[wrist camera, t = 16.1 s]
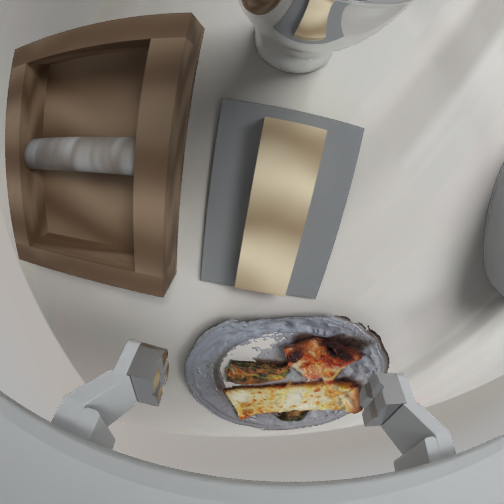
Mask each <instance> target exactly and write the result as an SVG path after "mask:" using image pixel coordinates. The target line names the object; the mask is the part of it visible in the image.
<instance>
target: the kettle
mask: <svg viewBox="0 0 504 504" xmlns="http://www.w3.org/2000/svg"><path fill="white" fill-rule="evenodd" d="M483 253H484V265H485V271H486V274H487V277H488V280H489V282H490V283H491V285H492V286H493V287H494V288H495V289H496V290H497V291H498V292H499V293H500V294H501V295H502V296H503V297H504V163H503V165H502V168H501V170H500V172H499V175H498V178H497V180H496V183H495V186H494V190H493V193H492V196H491V200H490V204H489V209H488V214H487V219H486V225H485V233H484V248H483Z"/></svg>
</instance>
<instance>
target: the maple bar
mask: <svg viewBox="0 0 504 504" xmlns="http://www.w3.org/2000/svg"><path fill="white" fill-rule="evenodd" d="M326 134H327V130H325V129H321V128H317V127H313V126H309V125H304V124H300V123H295V122H291V121H286V120H281V119H276V118H271V117H265V119H264V124H263V129H262V135H261V140H260V145H259V151H258V156H257V162H256V167H255V173H254V178H253V184H252V189H251V195H250V201H249V206H248V212H247V218H246V223H245V229H244V235H243V241H242V246H241V252H240V258H239V264H238V270H237V276H236V281H235V287H234V288H238V289H244V290H250V291H256V292H262V293H268V294H274V295H280V296H285V294H286V291H287V288H288V284H289V281H290V277H291V274H292V270H293V267H294V263H295V259H296V256H297V252H298V249H299V245H300V241H301V237H302V234H303V230H304V226H305V222H306V218H307V214H308V211H309V207H310V203H311V199H312V195H313V191H314V186H315V182H316V178H317V174H318V170H319V165H320V161H321V157H322V152H323V148H324V144H325V139H326Z"/></svg>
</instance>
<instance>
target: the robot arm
mask: <svg viewBox="0 0 504 504" xmlns="http://www.w3.org/2000/svg"><path fill="white" fill-rule="evenodd" d="M167 356H168V351H167V349H164V348H160V347H156V346H153V345H149V344H146V343H142V342H138V341H135V340H131V339H130V340H128V341H127V343H126V345H125V347H124V349H123V351H122V353H121V355H120V357H119V359H118V361H117V363H116V365H115V367H114V369H113V371H112V370H108V371H106V372H104V373H103V374H101V375H99V376H98V377H96V378H94V379H93V380H91V381H89V382H87V383H86V384H84V385H82V386H81V387H79V388H77V389H75V390H74V391H72V392H70V393H69V394H67V395H65V396H64V398H63V400H62V401H61V403H60V405H59V407H58V409H57V411H56V413H55V415H54V417H53V419H52V421H51V422H49V421H47V420H46V419H44V418H42V417H40V416H38V415H37V414H35V413H33V412H32V411H30V410H28V409H27V408H25V407H23V406H22V405H20V404H19V403H17V402H16V401H14V400H13V399H11V398H10V397H8V396H7V395H5V394H4V393H3V392H1V391H0V504H504V435H501V436H498V437H496V438H494V439H492V440H489V441H487V442H485V443H483V444H480V445H478V446H476V447H473V448H471V449H468V450H466V451H463V452H460V453H458V454H456V452H455V448H454V445H453V442H452V439H451V435H450V432H449V431H448V430H447V429H446V428H445V427H444V426H443V425H442V424H441V423H440V422H439V421H437V420H436V419H435V418H434V417H433V416H432V415H431V414H430V413H429V412H428V411H427V410H426V409H425V408H424V407H423V406H422V405H420V404H419V403H418V402H417V403H416V402H415V399H414V396H413V393H412V390H411V388H410V385H409V382H408V379H407V377H406V375H405V374H404V373H374V374H372V375H371V376H370V378H369V382H368V383H367V384H365V385H364V386H363V387H362V389H361V391H360V395H359V401H360V405H361V406H362V407H363V408H364V411H363V413H362V416H363V421H364V425H365V426H381V425H382V426H381V427H382V428H383V430H384V431H385V432H386V433H387V435H388V436H389V437H390V439H391V440H392V441H393V443H394V444H395V445H396V446H397V448H398V449H399V450H400V452H401V453H402V454H403V455H402V456H400V457H399V458H397V459H396V460H395V461H394V467H395V471H394V472H390V473H384V474H379V475H373V476H367V477H360V478H352V479H343V480H331V481H316V482H269V481H252V480H241V479H232V478H224V477H216V476H210V475H204V474H199V473H193V472H188V471H183V470H179V469H174V468H170V467H166V466H162V465H158V464H155V463H151V462H147V461H144V460H141V459H137V458H134V457H131V456H128V455H125V454H122V453H119V452H117V451H114V450H112V449H113V446H114V443H115V438H114V436H113V435H112V433H111V432H110V430H109V429H108V426H109V425H110V424H112V423H113V422H114V421H115V420H117V419H118V418H119V417H120V416H122V415H123V414H124V413H125V412H127V411H128V410H129V409H130V408H132V407H133V406H134V405H135V404H136V403H138V402H142V403H146V404H150V405H154V406H159V403H160V399H161V396H162V386H163V385H165V384H166V380H167V376H168V371H169V362H168V361H167V360H166V359H167ZM137 401H138V402H137Z"/></svg>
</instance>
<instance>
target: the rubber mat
mask: <svg viewBox="0 0 504 504" xmlns="http://www.w3.org/2000/svg"><path fill="white" fill-rule="evenodd" d="M265 117H271V118H276V119H281V120H286V121H291V122H295V123H300V124H304V125H309V126H313V127H317V128H321V129H325V130H327V134H326V139H325V144H324V148H323V152H322V157H321V161H320V165H319V170H318V174H317V178H316V182H315V186H314V191H313V195H312V199H311V203H310V207H309V211H308V214H307V218H306V222H305V226H304V230H303V234H302V237H301V241H300V245H299V249H298V252H297V256H296V259H295V263H294V267H293V270H292V274H291V277H290V281H289V284H288V288H287V291H286V295H293V296H299V297H306V298H313V299H316V296H317V293H318V291H319V288H320V285H321V282H322V279H323V276H324V273H325V270H326V267H327V264H328V261H329V258H330V255H331V252H332V248H333V245H334V242H335V239H336V235H337V232H338V229H339V225H340V222H341V219H342V215H343V212H344V208H345V205H346V201H347V197H348V194H349V190H350V186H351V182H352V178H353V175H354V171H355V167H356V162H357V158H358V154H359V150H360V146H361V141H362V137H363V132H364V128H361V127H358V126H355V125H351V124H348V123H344V122H341V121H337V120H333V119H330V118H326V117H322V116H318V115H313V114H309V113H305V112H300V111H296V110H291V109H286V108H280V107H275V106H269V105H264V104H257V103H251V102H244V101H236V100H228V99H222V105H221V111H220V118H219V124H218V131H217V137H216V144H215V151H214V159H213V166H212V174H211V182H210V190H209V199H208V207H207V216H206V226H205V236H204V246H203V257H202V269H201V280H203V281H209V282H214V283H220V284H226V285H231V286H235V281H236V276H237V270H238V264H239V258H240V252H241V246H242V241H243V235H244V229H245V223H246V218H247V212H248V206H249V201H250V195H251V189H252V184H253V178H254V173H255V167H256V162H257V156H258V151H259V145H260V140H261V135H262V129H263V124H264V119H265Z"/></svg>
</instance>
